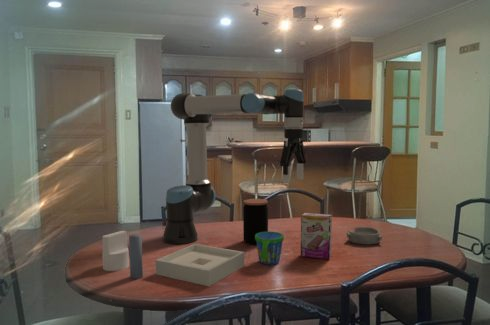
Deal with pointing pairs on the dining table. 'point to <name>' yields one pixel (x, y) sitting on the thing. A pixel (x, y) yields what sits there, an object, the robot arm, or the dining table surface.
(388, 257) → the dining table surface
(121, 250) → the white stepped block
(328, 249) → the candy bar box
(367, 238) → the dish
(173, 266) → the beige square tray
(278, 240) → the snack cup
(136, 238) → the peg
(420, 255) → the dining table surface
